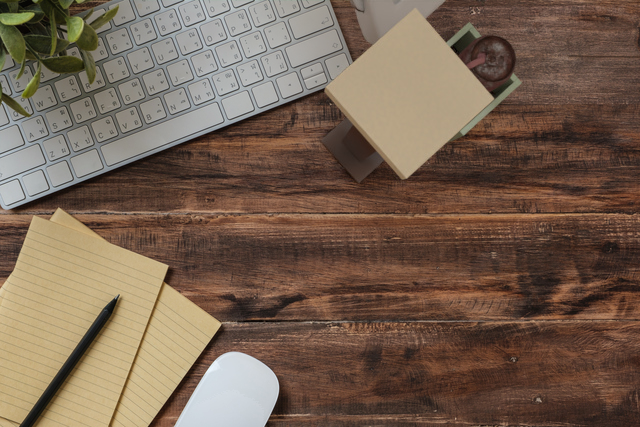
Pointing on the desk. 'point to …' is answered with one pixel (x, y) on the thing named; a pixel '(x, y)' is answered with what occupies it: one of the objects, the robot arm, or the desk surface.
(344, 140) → the post
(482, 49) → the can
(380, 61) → the beige square panel
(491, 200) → the desk surface
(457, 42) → the holder
